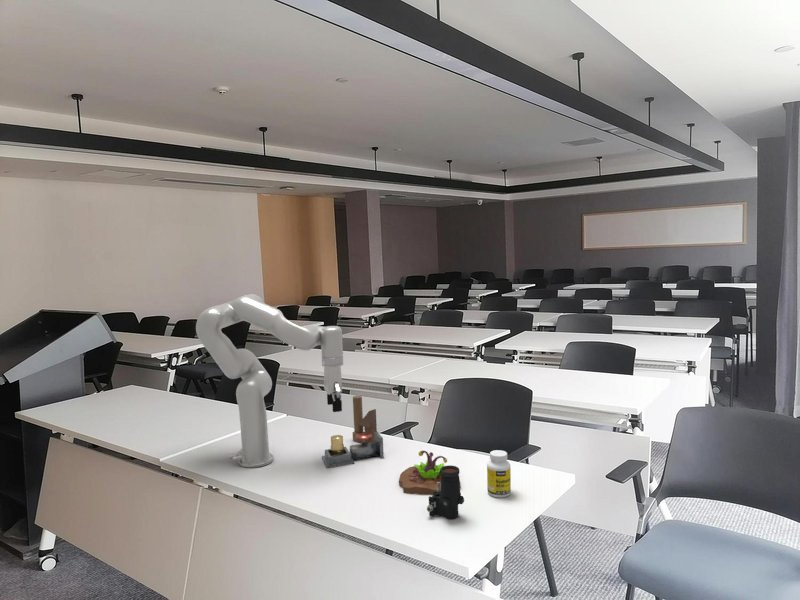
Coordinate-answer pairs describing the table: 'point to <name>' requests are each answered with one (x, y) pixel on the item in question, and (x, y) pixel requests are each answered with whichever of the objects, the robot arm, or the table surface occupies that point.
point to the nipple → (337, 445)
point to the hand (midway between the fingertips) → (334, 407)
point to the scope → (446, 494)
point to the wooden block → (363, 420)
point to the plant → (422, 476)
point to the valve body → (356, 451)
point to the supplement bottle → (498, 474)
